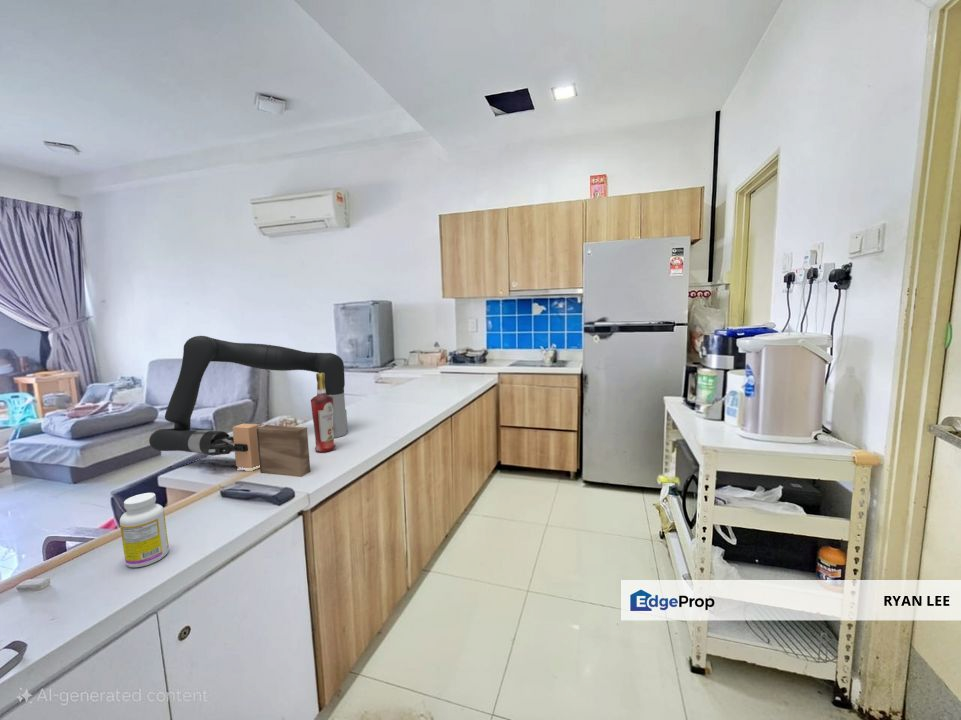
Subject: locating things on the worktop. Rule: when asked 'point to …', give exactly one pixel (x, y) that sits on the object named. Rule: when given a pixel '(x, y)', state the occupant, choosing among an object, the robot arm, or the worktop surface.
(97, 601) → the worktop surface
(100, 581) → the worktop surface
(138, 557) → the supplement bottle
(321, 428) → the liquor
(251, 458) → the light orange tall block
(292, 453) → the brown wooden flat block
